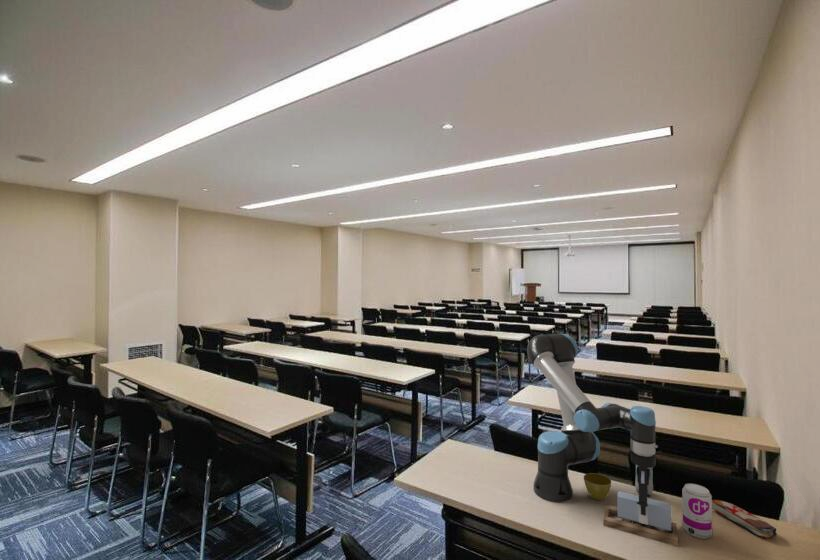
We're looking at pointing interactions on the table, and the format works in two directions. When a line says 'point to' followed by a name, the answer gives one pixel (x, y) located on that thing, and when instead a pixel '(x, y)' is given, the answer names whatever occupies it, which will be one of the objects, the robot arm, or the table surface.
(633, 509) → the light blue rectangular block
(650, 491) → the bottle
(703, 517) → the supplement can
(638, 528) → the board
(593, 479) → the yellow bowl
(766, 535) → the pencil case
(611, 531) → the table surface
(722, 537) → the table surface
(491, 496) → the table surface
